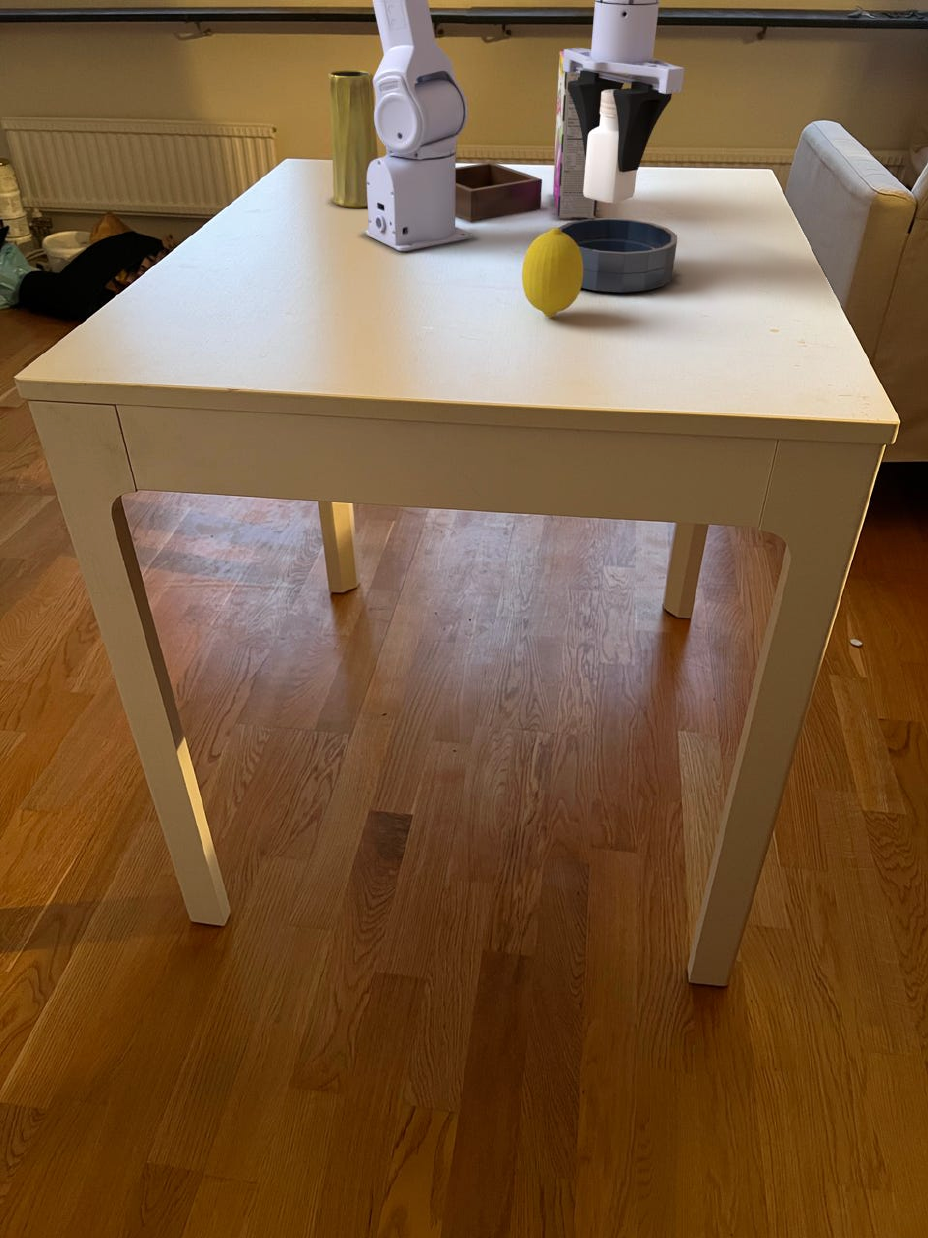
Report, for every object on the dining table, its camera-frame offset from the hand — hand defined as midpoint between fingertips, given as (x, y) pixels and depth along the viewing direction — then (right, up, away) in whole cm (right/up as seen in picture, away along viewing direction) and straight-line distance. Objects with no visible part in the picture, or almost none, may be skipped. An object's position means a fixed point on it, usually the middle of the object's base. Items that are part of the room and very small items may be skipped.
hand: (611, 165), depth 95 cm
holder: (-12, +7, +26) cm, 29 cm away
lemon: (-6, -17, -5) cm, 19 cm away
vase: (-28, +8, +27) cm, 39 cm away
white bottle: (0, -3, +2) cm, 3 cm away
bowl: (+1, -9, +5) cm, 10 cm away
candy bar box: (-1, +6, +25) cm, 26 cm away
